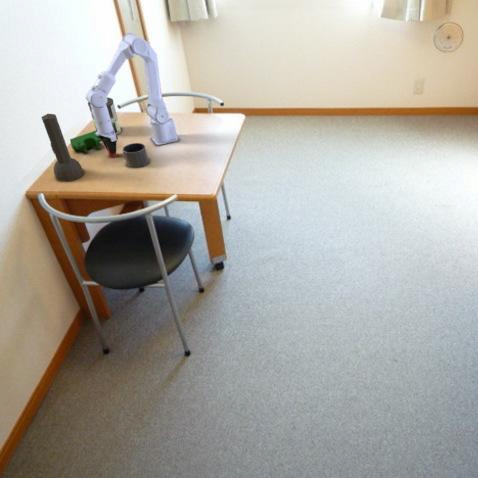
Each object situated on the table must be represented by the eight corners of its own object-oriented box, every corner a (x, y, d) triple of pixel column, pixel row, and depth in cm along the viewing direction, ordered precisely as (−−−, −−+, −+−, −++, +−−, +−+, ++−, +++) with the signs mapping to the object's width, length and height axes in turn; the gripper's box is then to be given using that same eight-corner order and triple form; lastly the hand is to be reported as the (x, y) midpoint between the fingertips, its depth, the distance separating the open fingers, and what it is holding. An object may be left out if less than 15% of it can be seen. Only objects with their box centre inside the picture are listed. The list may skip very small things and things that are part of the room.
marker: (116, 153, 202) (110, 134, 197) (117, 156, 200) (112, 137, 195) (108, 155, 201) (102, 136, 196) (110, 158, 199) (104, 139, 194)
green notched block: (86, 162, 205) (74, 149, 197) (78, 155, 207) (66, 142, 199) (108, 144, 208) (98, 131, 200) (101, 137, 210) (90, 123, 202)
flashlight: (83, 166, 193) (56, 171, 191) (63, 106, 178) (33, 110, 175) (83, 178, 186) (55, 183, 183) (62, 116, 171) (31, 121, 168)
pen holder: (145, 155, 201) (141, 141, 197) (151, 164, 195) (147, 149, 191) (124, 160, 197) (120, 146, 193) (129, 169, 191) (125, 154, 187)
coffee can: (110, 138, 213) (101, 107, 204) (91, 134, 216) (82, 104, 207) (126, 129, 220) (118, 99, 212) (108, 125, 224) (99, 95, 215)
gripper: (85, 117, 193) (95, 148, 201) (100, 129, 185) (109, 161, 193) (102, 112, 197) (111, 143, 205) (118, 123, 188) (126, 155, 197)
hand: (111, 151), depth 199 cm, fingers closed on marker, 3 cm apart
